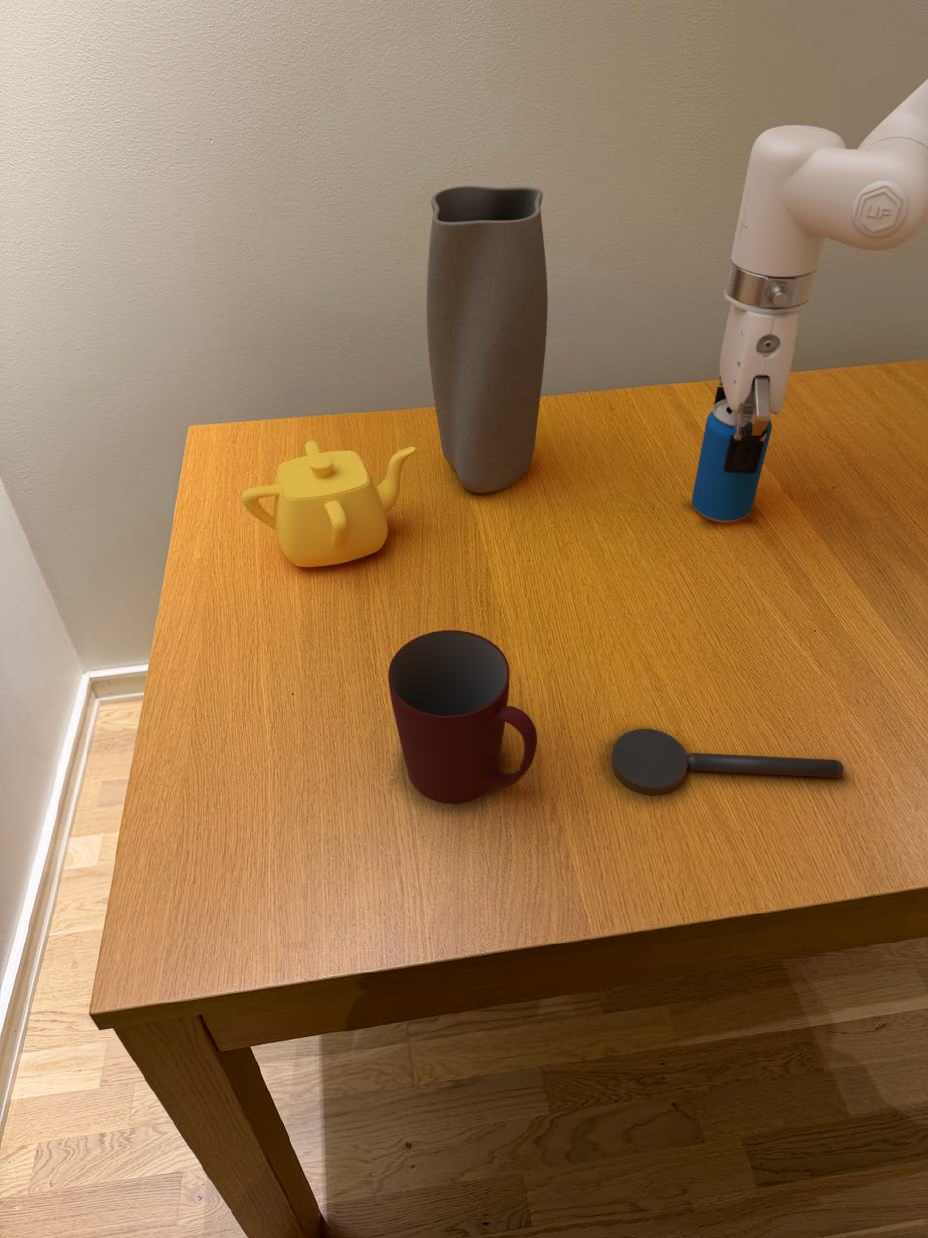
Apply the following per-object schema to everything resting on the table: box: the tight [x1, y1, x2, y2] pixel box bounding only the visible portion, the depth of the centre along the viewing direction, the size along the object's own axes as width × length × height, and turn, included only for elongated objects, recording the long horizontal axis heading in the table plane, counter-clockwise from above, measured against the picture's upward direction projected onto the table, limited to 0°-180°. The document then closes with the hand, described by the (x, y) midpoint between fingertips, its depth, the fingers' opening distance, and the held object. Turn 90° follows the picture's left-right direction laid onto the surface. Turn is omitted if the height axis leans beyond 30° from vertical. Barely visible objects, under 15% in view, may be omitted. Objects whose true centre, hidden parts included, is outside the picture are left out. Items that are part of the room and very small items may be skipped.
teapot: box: [240, 440, 416, 568], centre depth 91 cm, size 14×13×10 cm
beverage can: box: [691, 399, 773, 524], centre depth 94 cm, size 6×6×12 cm
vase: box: [426, 185, 549, 494], centre depth 94 cm, size 12×12×30 cm
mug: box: [387, 629, 538, 804], centre depth 68 cm, size 12×9×11 cm
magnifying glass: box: [610, 728, 845, 796], centre depth 71 cm, size 18×6×1 cm, turn 86°
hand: (732, 445), depth 92 cm, fingers open, 9 cm apart
